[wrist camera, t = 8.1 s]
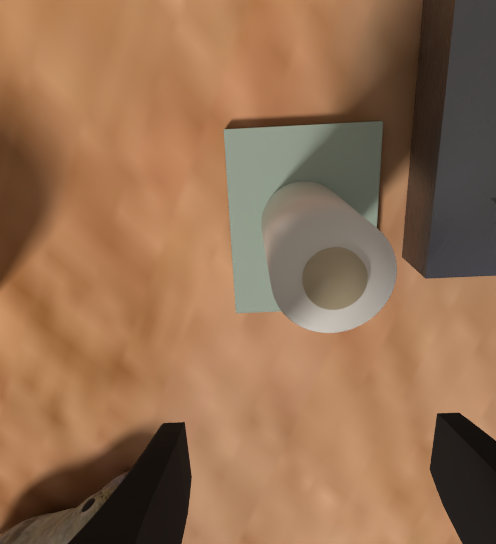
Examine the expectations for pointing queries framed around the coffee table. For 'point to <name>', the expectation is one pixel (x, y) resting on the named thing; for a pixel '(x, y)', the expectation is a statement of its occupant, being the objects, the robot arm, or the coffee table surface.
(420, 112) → the housing
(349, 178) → the mat
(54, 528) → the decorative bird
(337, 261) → the plug
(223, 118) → the coffee table surface
